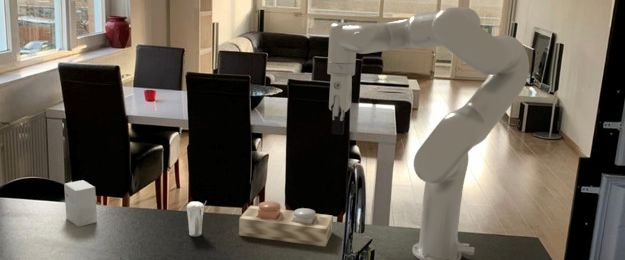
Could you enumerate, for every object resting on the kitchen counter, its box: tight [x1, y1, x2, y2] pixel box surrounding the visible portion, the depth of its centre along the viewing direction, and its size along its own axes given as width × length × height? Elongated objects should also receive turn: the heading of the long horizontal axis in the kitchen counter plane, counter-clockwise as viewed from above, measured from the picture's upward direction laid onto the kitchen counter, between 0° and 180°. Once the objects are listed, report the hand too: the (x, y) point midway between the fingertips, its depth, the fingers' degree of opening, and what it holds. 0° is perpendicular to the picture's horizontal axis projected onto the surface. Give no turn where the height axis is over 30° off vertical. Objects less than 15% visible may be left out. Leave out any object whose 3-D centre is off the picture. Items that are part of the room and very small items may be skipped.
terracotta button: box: [258, 200, 282, 220], centre depth 170 cm, size 6×6×6 cm
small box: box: [63, 179, 98, 227], centre depth 171 cm, size 8×6×10 cm
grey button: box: [293, 207, 317, 224], centre depth 168 cm, size 6×6×6 cm
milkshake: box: [186, 201, 207, 237], centre depth 165 cm, size 4×5×10 cm
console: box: [238, 205, 334, 248], centre depth 169 cm, size 24×10×5 cm, turn 78°
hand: (337, 133), depth 172 cm, fingers closed
